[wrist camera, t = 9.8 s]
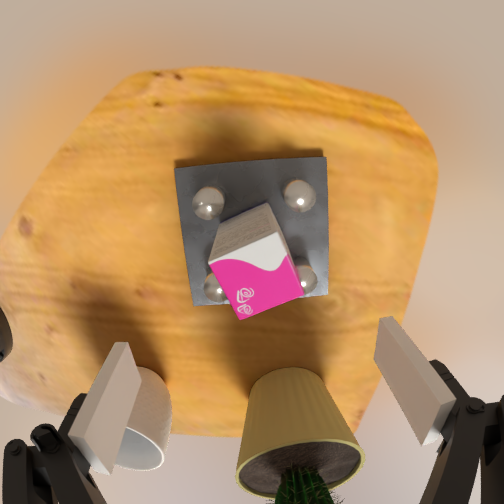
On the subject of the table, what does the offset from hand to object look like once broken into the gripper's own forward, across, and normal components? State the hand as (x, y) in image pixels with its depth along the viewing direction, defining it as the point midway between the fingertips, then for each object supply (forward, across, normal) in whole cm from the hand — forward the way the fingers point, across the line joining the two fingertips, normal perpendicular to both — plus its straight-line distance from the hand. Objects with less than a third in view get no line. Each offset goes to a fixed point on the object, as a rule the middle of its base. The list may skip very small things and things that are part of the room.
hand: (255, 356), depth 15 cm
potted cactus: (+21, +4, -24) cm, 32 cm away
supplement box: (+20, +1, +1) cm, 20 cm away
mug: (+21, -18, -21) cm, 35 cm away
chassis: (+21, +1, +1) cm, 21 cm away
